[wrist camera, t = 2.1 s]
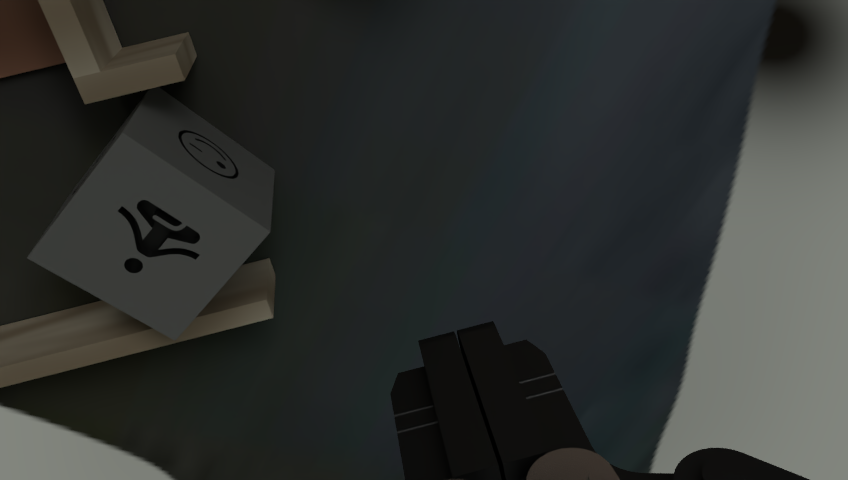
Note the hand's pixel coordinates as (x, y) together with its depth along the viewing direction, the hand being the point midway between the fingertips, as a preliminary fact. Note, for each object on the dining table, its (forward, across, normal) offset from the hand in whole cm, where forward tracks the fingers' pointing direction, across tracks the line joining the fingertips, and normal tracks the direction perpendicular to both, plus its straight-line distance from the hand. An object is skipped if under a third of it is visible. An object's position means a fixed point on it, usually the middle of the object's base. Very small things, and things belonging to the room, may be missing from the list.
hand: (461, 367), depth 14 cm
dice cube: (+14, +8, 0) cm, 16 cm away
